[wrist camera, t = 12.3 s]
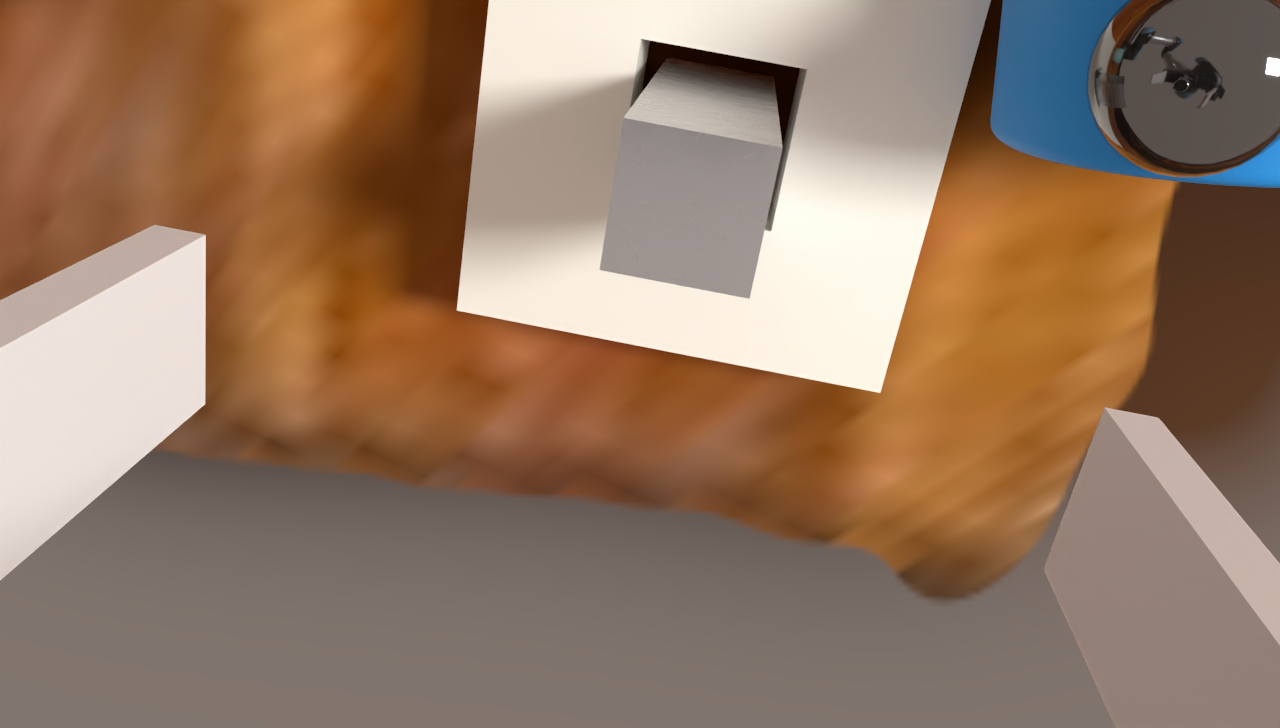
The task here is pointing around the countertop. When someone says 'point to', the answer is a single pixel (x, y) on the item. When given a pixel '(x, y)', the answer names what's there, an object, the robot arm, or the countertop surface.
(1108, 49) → the alarm clock
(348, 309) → the countertop surface
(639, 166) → the square bit
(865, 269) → the bore block
